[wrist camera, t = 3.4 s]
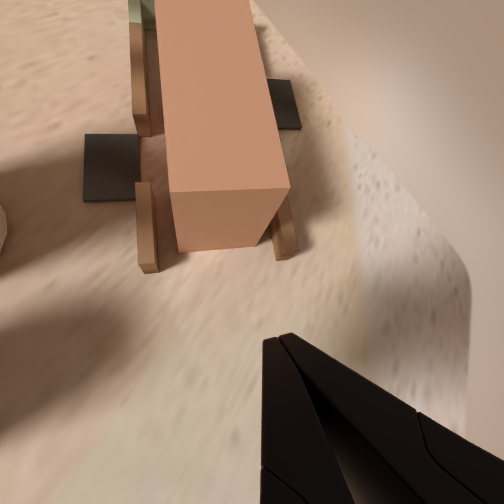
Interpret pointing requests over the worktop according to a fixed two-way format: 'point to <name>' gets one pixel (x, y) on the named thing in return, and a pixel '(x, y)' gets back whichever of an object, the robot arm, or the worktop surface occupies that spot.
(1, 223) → the supplement can
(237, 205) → the brick
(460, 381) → the worktop surface
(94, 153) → the lane
